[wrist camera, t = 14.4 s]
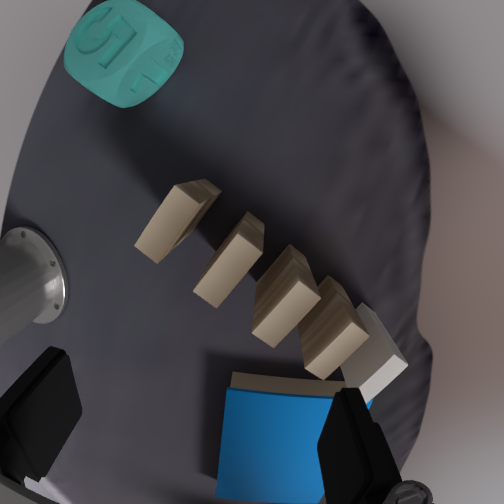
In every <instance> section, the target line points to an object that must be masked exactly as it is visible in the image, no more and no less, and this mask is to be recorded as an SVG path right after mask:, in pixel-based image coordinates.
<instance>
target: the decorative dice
mask: <svg viewBox="0 0 504 504" xmlns="http://www.w3.org/2000/svg"><path fill="white" fill-rule="evenodd" d="M183 50H184V41H183V40H182V38H181V37H180V36H179V34H178V33H177V32H176V31H175V30H174V29H173V28H172V27H171V26H170V25H168V24H167V23H166V22H165V21H164V20H163V19H161V18H160V17H159V16H158V15H157V14H155V13H154V12H153V11H151V10H150V9H149V8H147V7H146V6H144V5H143V4H141V3H140V2H138V1H136V0H107V1H105V2H103V3H101V4H99V5H97V6H96V7H94V8H93V9H91V10H90V11H88V12H87V13H86V14H85V15H84V16H83V17H82V18H81V19H80V20H79V21H78V22H77V24H76V25H75V27H74V28H73V30H72V32H71V33H70V36H69V38H68V40H67V43H66V47H65V51H64V67H65V69H66V71H67V72H68V73H69V74H70V75H71V76H72V77H73V78H74V79H76V80H77V81H78V82H79V83H81V84H82V85H83V86H84V87H86V88H87V89H89V90H90V91H91V92H93V93H94V94H96V95H97V96H99V97H101V98H102V99H104V100H106V101H107V102H109V103H111V104H113V105H115V106H117V107H120V108H127V107H132V106H135V105H137V104H139V103H141V102H143V101H144V100H146V99H147V98H149V97H150V96H151V95H153V94H154V93H155V92H156V91H157V90H158V89H159V88H160V87H161V86H162V85H163V84H164V83H165V82H166V81H167V80H168V79H169V77H170V76H171V75H172V74H173V72H174V71H175V69H176V68H177V66H178V64H179V62H180V60H181V58H182V55H183Z"/></svg>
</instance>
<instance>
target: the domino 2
mask: <svg viewBox="0 0 504 504" xmlns="http://www.w3.org/2000/svg"><path fill="white" fill-rule="evenodd" d="M264 225H265V224H264V223H263V222H261V221H260V220H259V219H257V218H256V217H255V216H254V215H252V214H251V213H250V212H248V211H247V212H246V214H245V215H244V216H243V217H242V219H241V220H240V221H239V222H238V224H237V225H236V226H235V228H234V229H233V230H232V231H231V233H230V234H229V235H228V237H227V238H226V239H225V240H224V242H223V243H222V244H221V246H220V247H219V248H218V249H217V251H216V252H215V254H214V256H213V257H212V259H211V261H210V262H209V264H208V266H207V267H206V269H205V271H204V273H203V274H202V276H201V278H200V280H199V281H198V283H197V285H196V286H195V288H194V290H193V292H195V293H196V294H198V295H199V296H200V297H202V298H203V299H204V300H206V301H207V302H208V303H210V304H211V305H213V306H214V307H215V308H218V306H219V305H220V304H221V303H222V302H223V300H224V299H225V298H226V297H227V296H228V294H229V293H230V292H231V291H232V290H233V288H234V287H235V286H236V285H237V284H238V282H239V281H240V280H241V279H242V278H243V276H244V275H245V274H246V273H247V272H248V270H249V269H250V268H251V267H252V266H253V264H254V263H255V262H256V261H257V260H258V258H259V257H260V256H261V255H262V253H263V243H264Z"/></svg>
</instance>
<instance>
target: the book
mask: <svg viewBox="0 0 504 504" xmlns="http://www.w3.org/2000/svg"><path fill="white" fill-rule="evenodd" d="M342 388H347V386H346V383H345V381H325V380H310V379H297V378H285V377H275V376H265V375H257V374H249V373H241V372H233V373H232V379H231V385H230V387H227V392H226V401H225V410H224V420H223V429H222V438H221V448H220V458H219V467H218V477H217V487H216V497H218V498H226V499H234V500H243V501H254V502H269V503H301V504H306V503H318V502H319V501H320V499H321V497H322V496H323V494H324V493H325V491H324V486H323V480H322V475H321V469H320V464H319V458H318V453H317V443H318V440H319V437H320V434H321V432H322V429H323V426H324V423H325V421H326V418H327V415H328V412H329V409H330V406H331V404H332V401H333V398H334V395H335V393H336V392H340V390H341V389H342ZM372 401H373V398H372V399H371V400H370V401H369V402H368V403H366V405H367V408H368V410H369V408H370V405H371V403H372Z"/></svg>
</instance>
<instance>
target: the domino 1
mask: <svg viewBox="0 0 504 504" xmlns="http://www.w3.org/2000/svg"><path fill="white" fill-rule="evenodd" d="M221 192H222V191H221V190H220V189H218V188H217V187H216V186H215V185H213V184H212V183H211V182H209V181H208V180H207V179H200V180H195V181H191V182H186V183H182V184H178V185H174V187H173V188H172V190H171V191H170V192H169V194H168V195H167V197H166V198H165V200H164V201H163V203H162V204H161V206H160V207H159V209H158V210H157V212H156V213H155V215H154V216H153V218H152V219H151V221H150V222H149V224H148V225H147V227H146V228H145V230H144V231H143V233H142V235H141V236H140V238H139V239H138V241H137V242H136V244H135V247H136V248H138V249H139V250H140V251H141V252H143V253H144V254H145V255H146V256H148V257H149V258H150V259H152V260H153V261H154V262H155V263H157V264H158V263H159V262H160V261H161V260H162V259H163V258H164V257H165V256H166V255H167V254H168V253H169V252H171V251H172V250H173V249H174V248H175V247H176V246H177V245H178V244H179V243H180V242H181V241H183V240H184V239H185V238H186V237H187V236H188V235H189V234H190V233H191V232H192V231H193V230H194V228H195V227H196V225H197V224H198V223H199V221H200V220H201V219H202V217H203V216H204V215H205V213H206V212H207V211H208V209H209V208H210V207H211V205H212V204H213V203H214V201H215V200H216V199H217V197H218V196H219V195H220V193H221Z"/></svg>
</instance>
